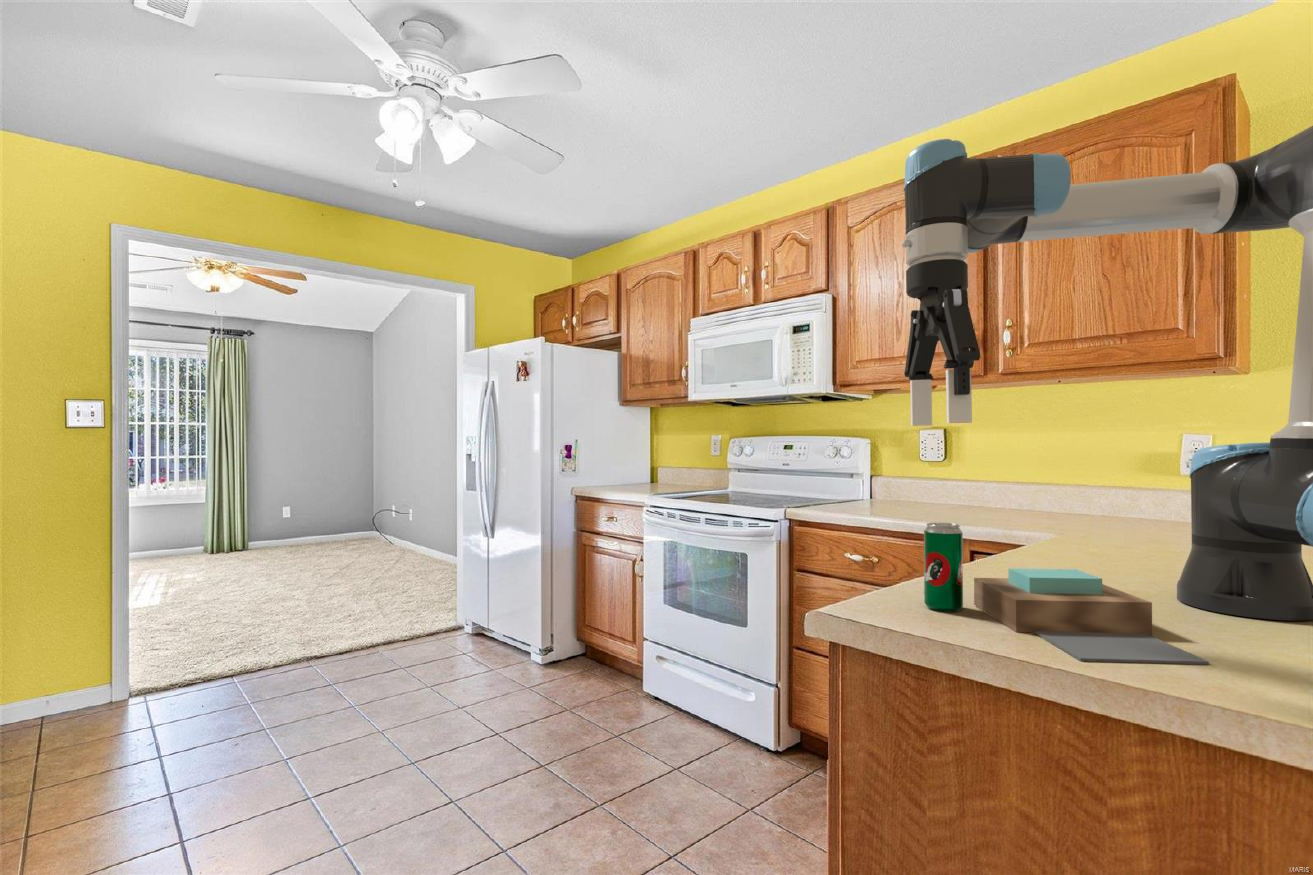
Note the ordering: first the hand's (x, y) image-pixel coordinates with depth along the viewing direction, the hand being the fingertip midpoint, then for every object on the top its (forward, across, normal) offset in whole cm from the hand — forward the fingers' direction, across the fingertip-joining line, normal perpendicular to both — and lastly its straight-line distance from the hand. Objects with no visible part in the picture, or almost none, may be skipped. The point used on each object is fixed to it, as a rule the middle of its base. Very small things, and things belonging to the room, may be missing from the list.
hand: (938, 424), depth 85 cm
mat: (+26, +10, +16) cm, 32 cm away
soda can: (+26, -7, +3) cm, 27 cm away
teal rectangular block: (+22, -3, +16) cm, 27 cm away
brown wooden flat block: (+26, -2, +16) cm, 31 cm away
